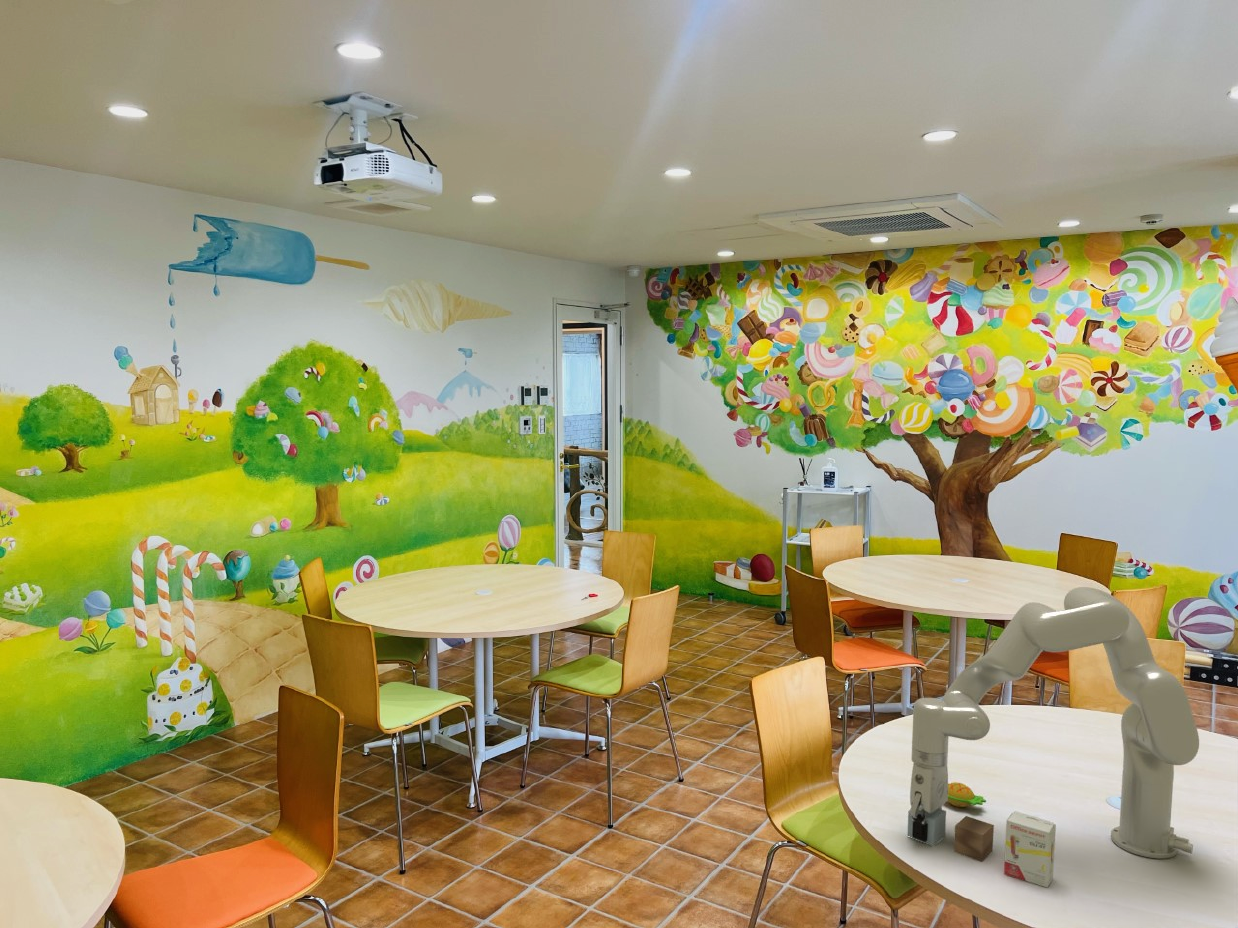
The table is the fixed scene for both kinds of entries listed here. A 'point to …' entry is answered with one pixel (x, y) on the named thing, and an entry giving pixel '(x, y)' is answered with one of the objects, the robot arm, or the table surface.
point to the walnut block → (973, 838)
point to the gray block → (931, 825)
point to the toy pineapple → (962, 795)
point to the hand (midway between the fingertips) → (926, 832)
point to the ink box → (1029, 848)
